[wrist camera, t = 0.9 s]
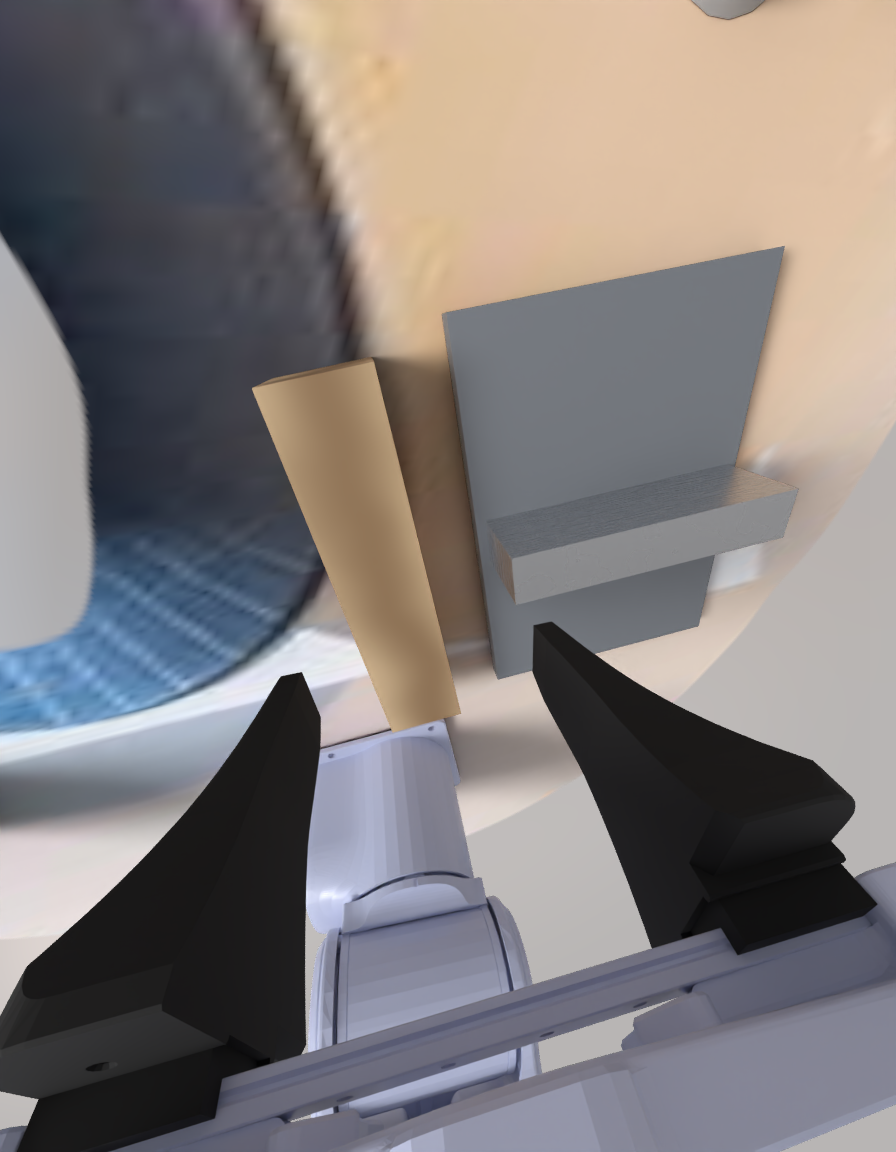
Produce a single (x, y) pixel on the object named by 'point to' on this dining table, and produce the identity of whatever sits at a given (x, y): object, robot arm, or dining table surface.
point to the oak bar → (363, 530)
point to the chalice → (727, 7)
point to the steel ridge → (636, 530)
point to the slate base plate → (604, 424)
